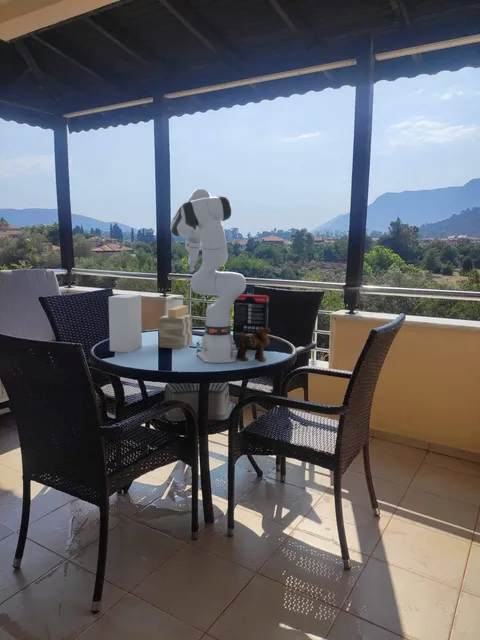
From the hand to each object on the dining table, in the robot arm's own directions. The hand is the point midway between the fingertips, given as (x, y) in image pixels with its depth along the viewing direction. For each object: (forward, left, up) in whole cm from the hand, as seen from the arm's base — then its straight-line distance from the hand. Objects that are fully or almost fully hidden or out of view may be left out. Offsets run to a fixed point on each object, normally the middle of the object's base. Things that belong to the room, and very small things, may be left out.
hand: (191, 271), depth 238 cm
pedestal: (-16, +8, -37) cm, 41 cm away
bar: (-12, +7, -22) cm, 26 cm away
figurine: (-50, -26, -37) cm, 68 cm away
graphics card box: (-25, -29, -37) cm, 53 cm away
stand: (-24, +33, -37) cm, 55 cm away
